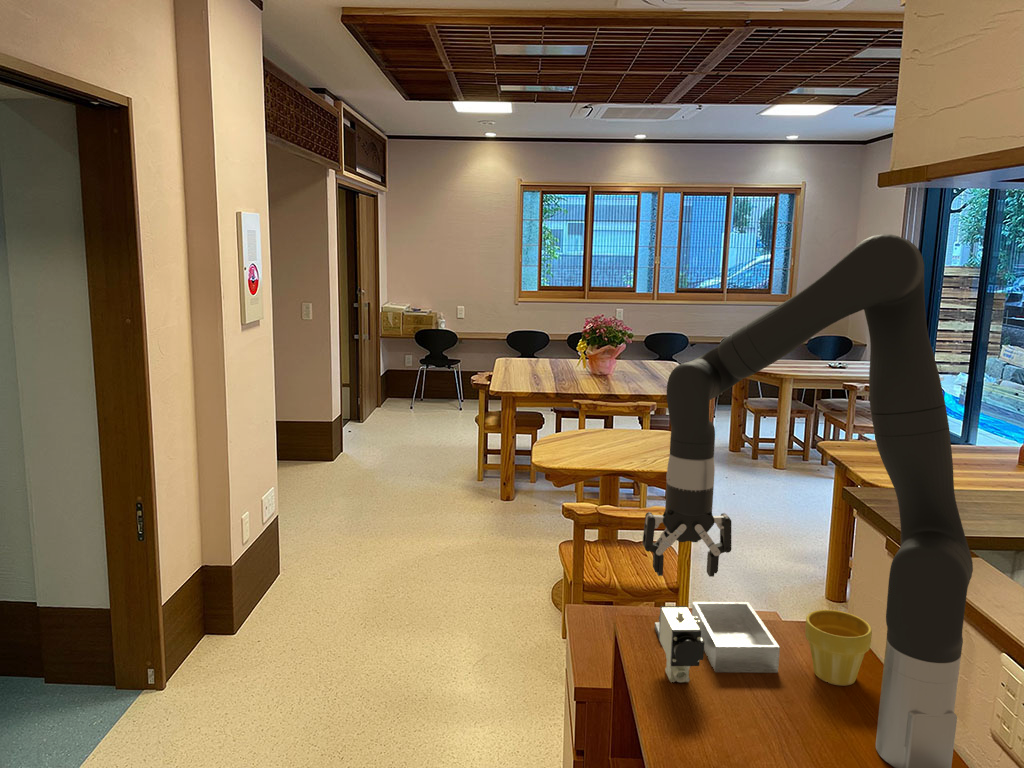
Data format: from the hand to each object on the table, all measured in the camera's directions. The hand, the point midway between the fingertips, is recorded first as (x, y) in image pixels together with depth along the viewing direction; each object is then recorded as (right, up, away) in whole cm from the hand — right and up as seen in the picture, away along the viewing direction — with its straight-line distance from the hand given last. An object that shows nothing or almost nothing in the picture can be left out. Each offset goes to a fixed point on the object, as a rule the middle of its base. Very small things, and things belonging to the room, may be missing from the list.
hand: (684, 574), depth 123 cm
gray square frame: (+2, -16, +17) cm, 23 cm away
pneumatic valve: (0, -19, +3) cm, 19 cm away
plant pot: (+27, -19, +4) cm, 33 cm away
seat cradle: (+12, -17, +13) cm, 24 cm away
